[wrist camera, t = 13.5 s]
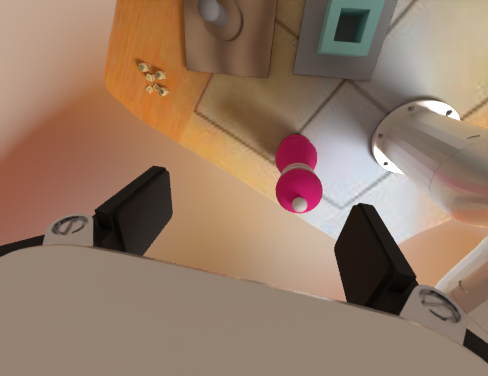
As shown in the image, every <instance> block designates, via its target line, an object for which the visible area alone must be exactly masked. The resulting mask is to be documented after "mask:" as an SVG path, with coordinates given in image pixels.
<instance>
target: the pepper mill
mask: <svg viewBox="0 0 488 376" xmlns="http://www.w3.org/2000/svg"><path fill="white" fill-rule="evenodd" d="M316 163H317V152H316V149H315V147H314V146H313V145H312V144H311V143H310V141H309V140H308V139H307V138H306V137H304V136H302V135H291V136H289V137H287V138H285V139H284V140H283V141H282V143H281V144H280V147H279V148H278V150H277V152H276V165H277V168H278V170H279V171H280V173H281V176H280V178H279V180H278V182H277V185H276V197H277V199H278V202H279V203H280V205H281V206H282V207H283V208H284V209H286V210H288V211H290V212H293V213H305V212H308V211H310V210H312V209H314V208H315V207H316V206H317V205H318V204H319V202H320V200H321V198H322V185H321V182H320V180H319V178H318V177H317V176H316V175H315V173H314V171H313V170H314V168H315V166H316Z"/></svg>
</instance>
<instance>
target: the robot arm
mask: <svg viewBox="0 0 488 376" xmlns="http://www.w3.org/2000/svg"><path fill="white" fill-rule="evenodd" d="M409 107H410V108H409ZM408 108H409V109H408ZM379 134H380V135H379ZM378 135H379V136H378ZM372 153H373V156H374V158H375V160H376V161H377V162H378V163H379V164H380V165H381V166H382V167H383V168H385V169H387V170H388V171H391V172H394V173H403V174H404V175H405V176H406V177H407V178H408V179H409V180H410V181H411V182H413V183H414V184H415V185H416V186H417V187H418V188H419V189H420V190H421V191H422V192H423V193H424V194H425V195H426V196H427V197H428V198H429V199H430V200H431V201H432V202H434V203H435V204H436V205H437V206H438V207H439V208H440V209H441V210H442V211H443V212H445V213H446V214H447V215H449V216H450V217H452V218H454V219H456V220H458V221H460V222H463V223H466V224H469V225H474V226H478V227H484V228H488V129H486V128H483V127H480V126H477V125H474V124H471V123H467V122H464V121H461V120H460V118H459V115H458V113H457V112H456V110H455V109H454V108H452V107H451V106H450V105H448V104H446V103H444V102H441V101H437V100H429V99H426V100H417V101H413V102H409V103H407V104H404V105H402V106H400V107H398V108H397V109H395V110H393V111H392V112H391V113H390V114H388V115H387V116H386V117H385V118H384V119H383V120H382V121H381V123H380V124H379V126H378V127H377V128H376V131H375V133H374V135H373V139H372ZM95 213H96V214H95V215H94V216H92V217H91V216H90V215H88V214H84V213H76V214H70V215H66V216H64V217H61V218H59V219H57V220H55V221H54V222H53V223H51V224H50V225H49V226H48V228H47V230H46V233H45V235H41V236H37V237H33V238H29V239H25V240H22V241H18V242H14V243H10V244H6V245H2V246H0V376H488V235H487V236H486V237H485V238H484V239H483V240H482V241H481V242H480V244H479V245H478V246H477V247H476V248H474V249H473V250H472V251H471V252H470V253H469V254H468V255H467V256H466V257H465V258H464V259H462V260H461V261H460V262H459V263H458V264H457V265H455V267H453V268H452V269H451V270H450V271H449V272H448V273H447V274H446V275H445V276H444V277H443V278H442V279H441V280H440V281H439V282H438V283H437V285H436V286H435V287H434V288H433V287H430V286H426V285H419V284H418V282H417V281H416V279H415V278H416V275H415V273H414V272H413V270H412V268H411V267H410V265H409V264H408V262H407V260H406V259H405V257H404V255H403V254H402V252H401V251H400V249H399V247H398V245H397V244H396V242H395V241H394V239H393V237H392V236H391V234H390V232H389V231H388V229H387V227H386V226H385V224H384V222H383V221H382V219H381V218H380V216H379V214H378V213H377V211H376V209H375V208H374V206H373V205H368V204H363V203H358V204H357V205H354V206H353V207H352V209H351V211H350V214H349V216H348V218H347V220H346V222H345V224H344V227H343V229H342V231H341V233H340V235H339V237H338V240H337V242H336V244H335V247H334V252H335V256H336V260H337V264H338V268H339V272H340V276H341V280H342V284H343V288H344V292H345V296H346V300H347V302H344V301H339V300H336V299H332V298H327V297H323V296H319V295H314V294H310V293H306V292H301V291H297V290H293V289H288V288H284V287H279V286H275V285H271V284H266V283H262V282H258V281H253V280H249V279H244V278H240V277H236V276H231V275H227V274H222V273H218V272H213V271H209V270H204V269H199V268H195V267H191V266H186V265H182V264H177V263H172V262H167V261H163V260H159V259H154V258H149V257H145V256H143V255H144V253H145V252H146V251H147V249H148V248H149V247H150V245H151V244H152V243H153V241H154V240H155V239H156V237H157V236H158V235H159V233H160V232H161V231H162V229H163V228H164V227H165V225H166V224H167V223H168V222H169V220H170V219H171V217H172V213H173V211H172V200H171V188H170V176H169V172H168V171H166V168H164V167H158V166H152V167H151V168H149V169H148V170H147V171H146V172H145V173H143V174H142V175H141V176H139V177H138V178H136V179H135V180H134V181H132V182H131V183H130V184H128V185H127V186H126V187H124V188H123V189H122V190H120V191H119V192H118V193H117V194H115V195H114V196H113V197H111V198H110V199H109V200H107V201H106V202H105V203H103V204H102V205H101V206H99V207H98V208H97V209H95Z"/></svg>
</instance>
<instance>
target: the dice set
mask: <svg viewBox="0 0 488 376" xmlns="http://www.w3.org/2000/svg"><path fill="white" fill-rule="evenodd" d="M138 67H139V70H140V71H142V72H148V71H149V70H150V67H149V64H147V63H139V65H138ZM155 76H156V78H157V79H159V80H162V79H165V78H166V73H165V72H164V71H163V70H160V71H156V73H155V75H154V74H147V76H146V80H149V81H151V82H152V81H154V80H156V79H155ZM153 88H154V89H155V90H156V91H158V92H159V94H160V95H161V96H166V95H168V94H169V90H168V89H167V88H166V87H162V88H160V86H158V85H157V84H156V83H155V85H154V86H153ZM153 88H152V87H151V86H150V85H149V86H148V87H147V88H146V89H147V91H148V92H149V93H151V92H152V91H153Z"/></svg>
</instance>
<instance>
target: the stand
mask: <svg viewBox="0 0 488 376" xmlns="http://www.w3.org/2000/svg"><path fill="white" fill-rule="evenodd" d="M277 2H278V0H183V8H184V27H185V46H186V65H187V70H189V71H199V72H209V73H219V74H228V75H238V76H248V77H258V78H268V76H269V67H270V59H271V51H272V43H273V35H274V27H275V19H276V10H277Z"/></svg>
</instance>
